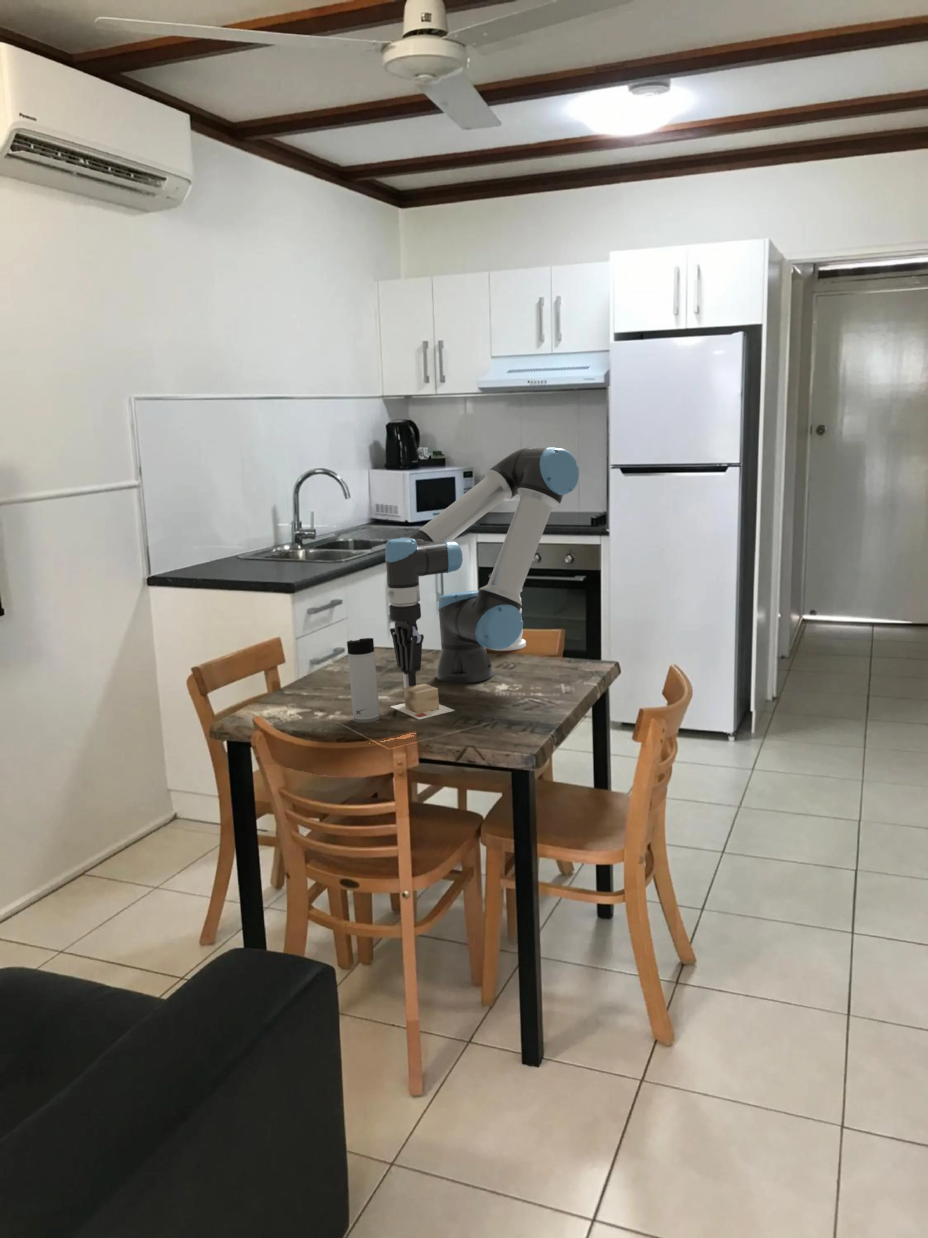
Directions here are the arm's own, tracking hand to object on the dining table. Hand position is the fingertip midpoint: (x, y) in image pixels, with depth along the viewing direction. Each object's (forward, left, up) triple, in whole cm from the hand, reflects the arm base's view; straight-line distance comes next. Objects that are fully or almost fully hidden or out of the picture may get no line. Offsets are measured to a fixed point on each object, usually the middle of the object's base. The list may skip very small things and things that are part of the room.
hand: (410, 697), depth 245 cm
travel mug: (+3, -14, -2) cm, 14 cm away
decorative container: (-33, +52, -2) cm, 62 cm away
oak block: (+5, 0, -2) cm, 5 cm away
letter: (+5, 0, -2) cm, 5 cm away
